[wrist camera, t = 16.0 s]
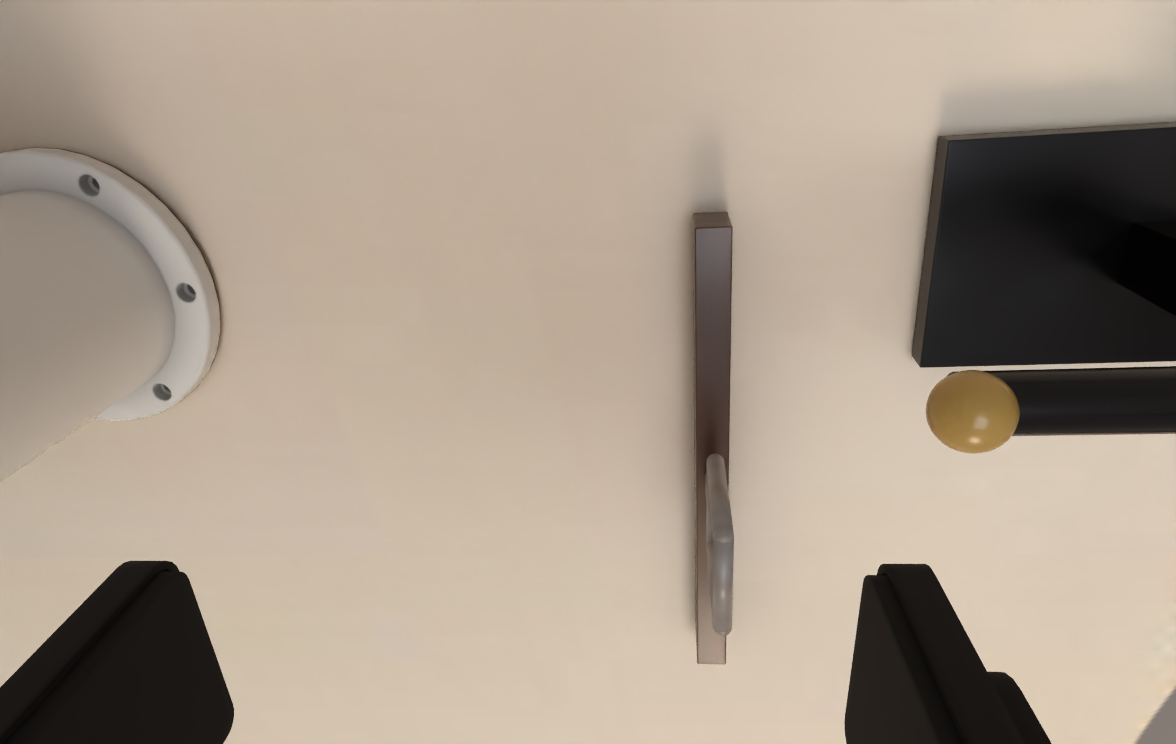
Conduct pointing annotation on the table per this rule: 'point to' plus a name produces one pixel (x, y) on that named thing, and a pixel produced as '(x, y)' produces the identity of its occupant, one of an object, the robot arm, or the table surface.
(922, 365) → the coat stand
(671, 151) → the table surface
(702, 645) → the hanger
